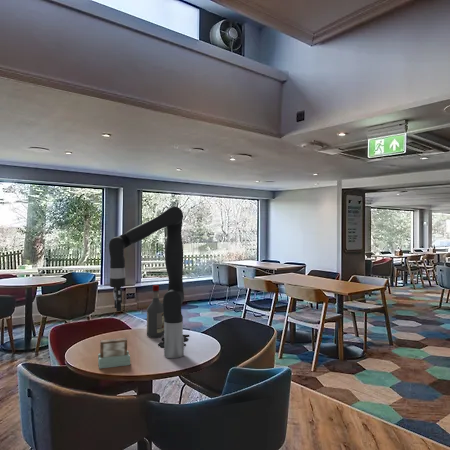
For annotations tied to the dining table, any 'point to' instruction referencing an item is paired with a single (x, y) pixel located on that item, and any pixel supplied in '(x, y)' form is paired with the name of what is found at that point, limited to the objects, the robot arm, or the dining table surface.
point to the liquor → (155, 316)
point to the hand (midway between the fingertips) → (117, 309)
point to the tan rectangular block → (113, 347)
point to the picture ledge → (114, 361)
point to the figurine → (163, 340)
